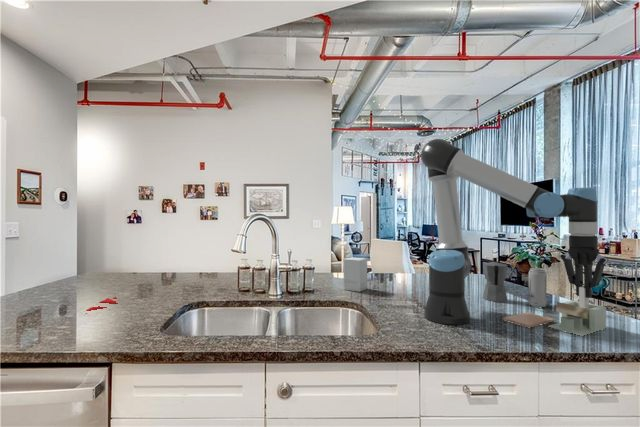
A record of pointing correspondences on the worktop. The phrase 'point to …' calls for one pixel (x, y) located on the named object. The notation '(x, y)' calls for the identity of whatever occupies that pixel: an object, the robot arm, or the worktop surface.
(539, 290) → the energy drink can
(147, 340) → the worktop surface
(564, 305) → the beech bar
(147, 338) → the worktop surface
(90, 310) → the cloth
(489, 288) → the coffeepot
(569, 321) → the pocket block
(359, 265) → the supplement box
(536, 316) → the terracotta tile
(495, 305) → the worktop surface
